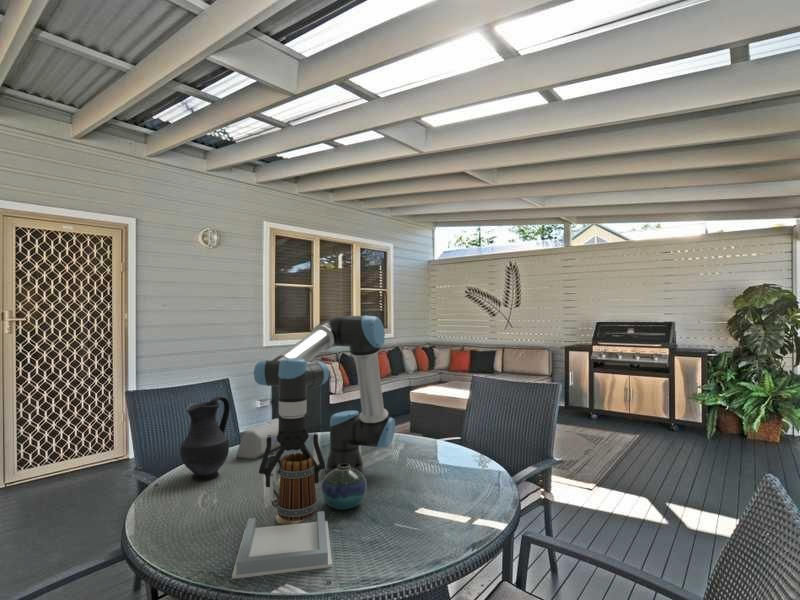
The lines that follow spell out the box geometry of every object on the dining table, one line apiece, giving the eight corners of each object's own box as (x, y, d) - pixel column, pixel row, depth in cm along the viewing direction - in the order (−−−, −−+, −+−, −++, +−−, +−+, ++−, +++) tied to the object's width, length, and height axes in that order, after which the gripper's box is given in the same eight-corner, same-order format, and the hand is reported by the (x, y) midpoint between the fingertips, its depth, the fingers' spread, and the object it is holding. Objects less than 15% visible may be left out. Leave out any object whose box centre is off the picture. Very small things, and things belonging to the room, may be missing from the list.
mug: (324, 508, 126) (324, 453, 127) (303, 524, 116) (303, 465, 117) (277, 499, 132) (277, 447, 132) (253, 515, 122) (253, 458, 122)
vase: (329, 519, 141) (329, 476, 142) (314, 501, 155) (314, 462, 155) (374, 509, 148) (374, 468, 149) (356, 492, 162) (356, 455, 162)
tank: (266, 462, 196) (266, 432, 196) (235, 458, 201) (235, 429, 201) (297, 445, 219) (297, 419, 220) (269, 442, 224) (269, 417, 225)
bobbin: (305, 510, 148) (305, 473, 148) (305, 523, 139) (305, 483, 139) (277, 513, 146) (277, 475, 146) (275, 526, 137) (275, 486, 137)
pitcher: (170, 481, 173) (171, 402, 174) (211, 464, 193) (212, 393, 193) (205, 488, 167) (205, 405, 167) (244, 469, 186) (244, 395, 187)
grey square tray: (327, 523, 139) (327, 511, 139) (331, 567, 115) (331, 551, 115) (245, 531, 134) (245, 518, 134) (232, 578, 110) (232, 563, 110)
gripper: (333, 410, 131) (333, 488, 131) (250, 414, 127) (250, 494, 126) (335, 416, 124) (335, 498, 123) (247, 420, 119) (247, 506, 119)
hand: (292, 496), depth 125 cm, fingers closed on mug, 10 cm apart
